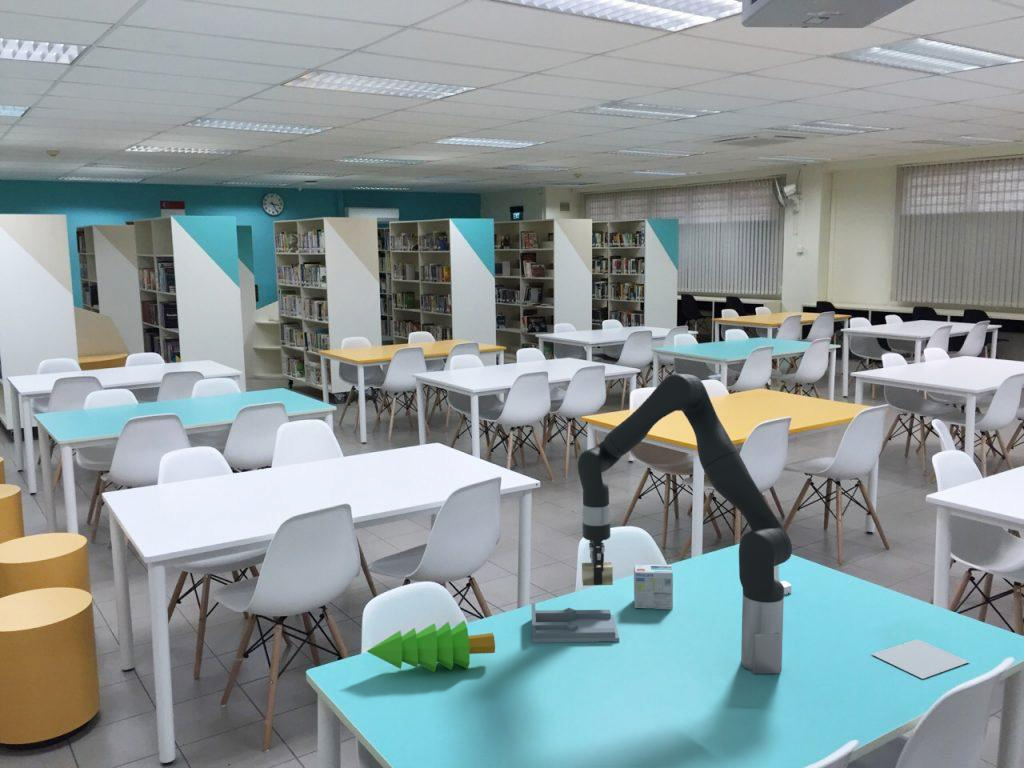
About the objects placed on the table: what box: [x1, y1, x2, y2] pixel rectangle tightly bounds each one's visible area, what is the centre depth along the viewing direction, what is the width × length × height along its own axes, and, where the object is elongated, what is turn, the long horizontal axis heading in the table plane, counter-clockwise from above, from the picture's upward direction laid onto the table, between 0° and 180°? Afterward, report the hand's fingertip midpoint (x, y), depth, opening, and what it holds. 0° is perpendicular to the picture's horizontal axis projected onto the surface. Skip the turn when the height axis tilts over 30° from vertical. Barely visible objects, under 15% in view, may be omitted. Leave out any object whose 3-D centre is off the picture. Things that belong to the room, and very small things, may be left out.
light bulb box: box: [633, 563, 674, 610], centre depth 232 cm, size 11×7×11 cm, turn 84°
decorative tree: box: [366, 620, 496, 673], centre depth 197 cm, size 11×12×30 cm
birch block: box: [581, 561, 614, 587], centre depth 228 cm, size 4×8×5 cm, turn 89°
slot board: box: [531, 602, 620, 643], centre depth 217 cm, size 14×22×4 cm, turn 89°
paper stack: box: [871, 638, 970, 679], centre depth 205 cm, size 23×25×1 cm
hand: (597, 581), depth 228 cm, fingers closed on birch block, 4 cm apart
